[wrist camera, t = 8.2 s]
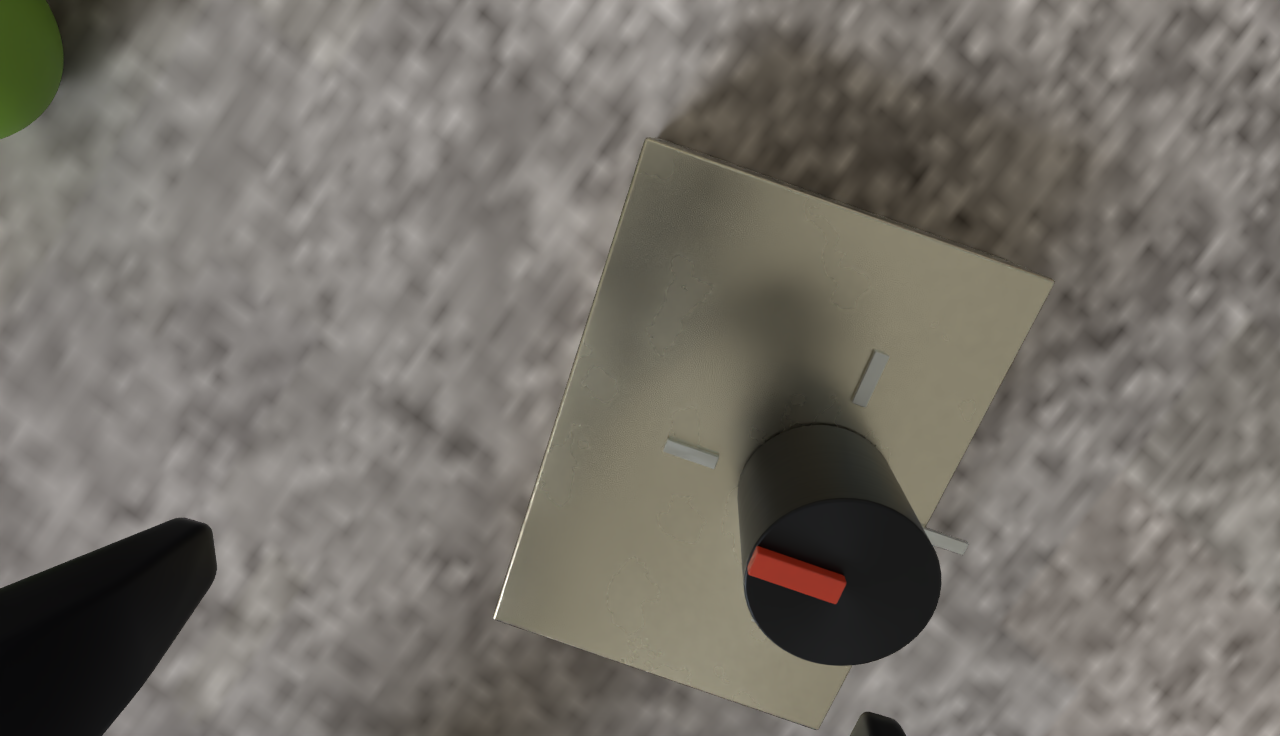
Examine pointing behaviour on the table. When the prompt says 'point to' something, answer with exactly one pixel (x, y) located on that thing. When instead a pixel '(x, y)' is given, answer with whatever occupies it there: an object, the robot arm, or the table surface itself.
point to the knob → (833, 549)
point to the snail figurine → (27, 62)
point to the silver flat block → (744, 409)
